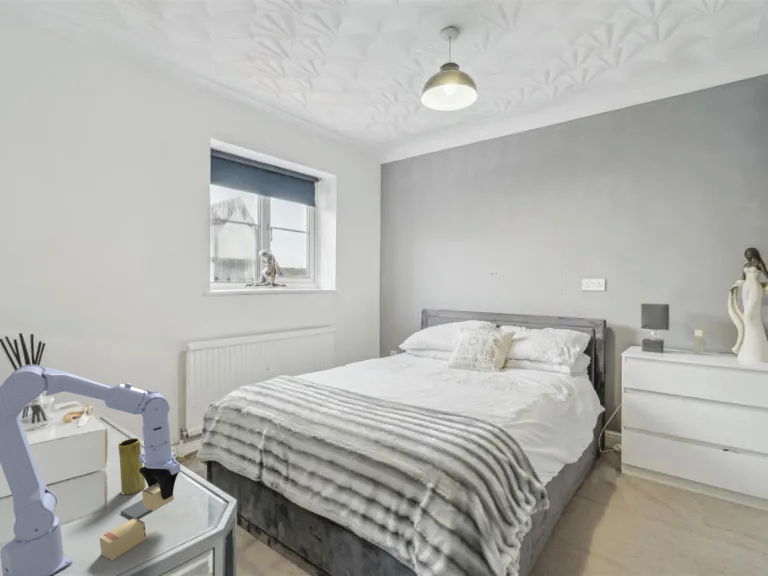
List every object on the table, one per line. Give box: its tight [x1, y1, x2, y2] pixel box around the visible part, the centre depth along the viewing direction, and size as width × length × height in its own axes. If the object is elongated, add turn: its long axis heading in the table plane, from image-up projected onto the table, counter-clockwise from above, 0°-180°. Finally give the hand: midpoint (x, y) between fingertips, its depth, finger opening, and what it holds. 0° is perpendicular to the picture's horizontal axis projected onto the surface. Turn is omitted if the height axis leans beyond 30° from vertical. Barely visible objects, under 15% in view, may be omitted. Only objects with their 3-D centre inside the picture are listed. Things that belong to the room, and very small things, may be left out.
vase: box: [117, 437, 147, 495], centre depth 114 cm, size 6×6×14 cm
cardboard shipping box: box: [99, 518, 147, 562], centre depth 90 cm, size 8×4×4 cm, turn 150°
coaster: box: [120, 499, 154, 520], centre depth 104 cm, size 7×7×1 cm
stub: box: [141, 483, 175, 512], centre depth 97 cm, size 5×4×4 cm
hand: (161, 494), depth 98 cm, fingers closed on stub, 4 cm apart
